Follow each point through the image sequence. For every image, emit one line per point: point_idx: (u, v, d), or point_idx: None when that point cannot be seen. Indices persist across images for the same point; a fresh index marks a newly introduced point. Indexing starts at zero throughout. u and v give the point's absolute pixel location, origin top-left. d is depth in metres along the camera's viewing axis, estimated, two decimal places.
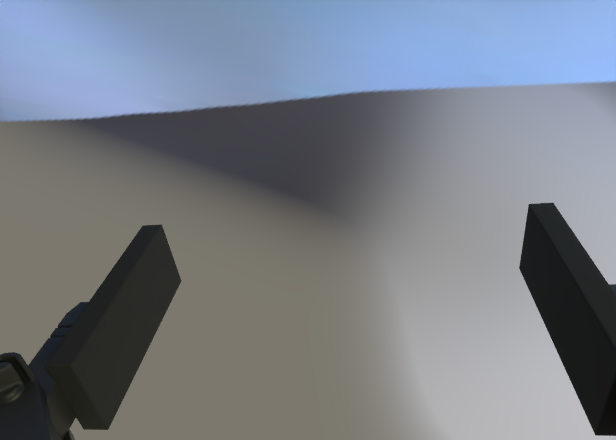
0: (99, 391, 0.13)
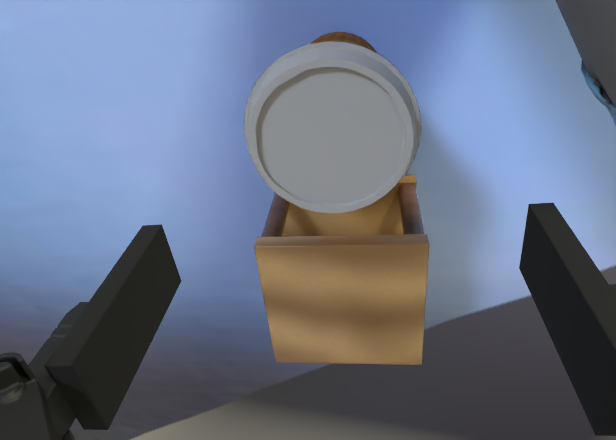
0: (99, 391, 0.13)
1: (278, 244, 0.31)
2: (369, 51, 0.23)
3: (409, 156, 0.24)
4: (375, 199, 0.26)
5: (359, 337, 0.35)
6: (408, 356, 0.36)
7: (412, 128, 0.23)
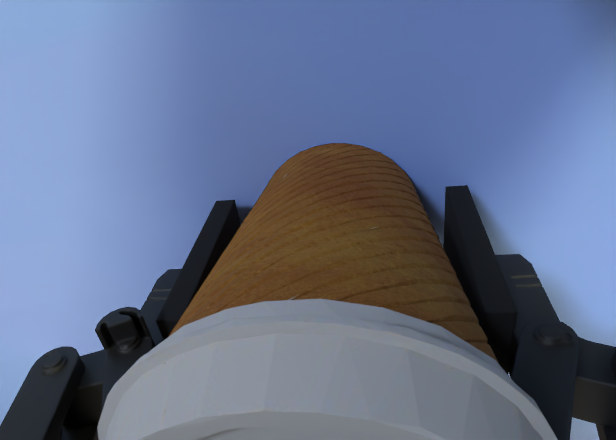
0: None
1: None
2: (427, 345, 0.07)
3: None
4: None
5: None
6: None
7: None
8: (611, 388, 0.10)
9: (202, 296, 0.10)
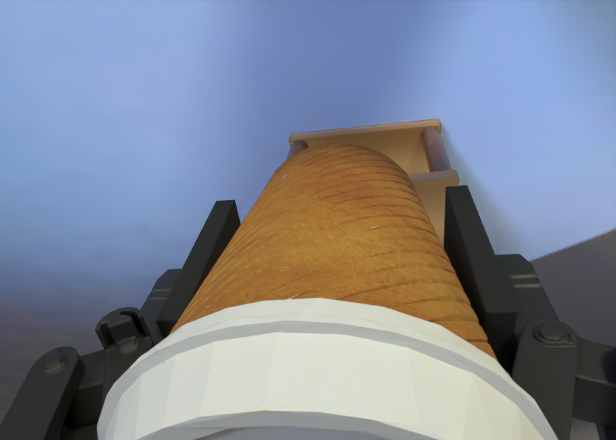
0: None
1: None
2: (427, 344, 0.07)
3: None
4: None
5: None
6: None
7: None
8: (611, 388, 0.10)
9: (202, 295, 0.10)
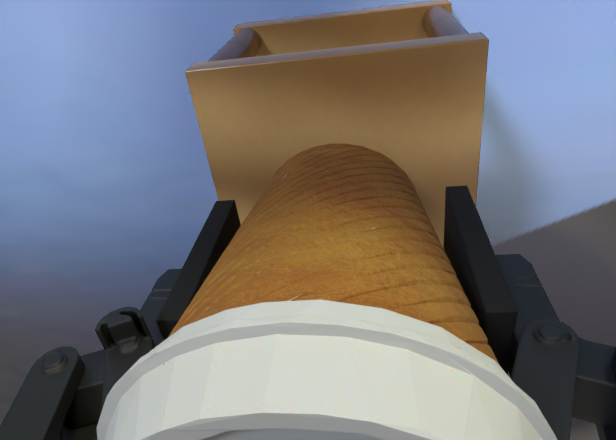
0: None
1: (225, 65, 0.18)
2: (427, 346, 0.07)
3: None
4: None
5: None
6: None
7: None
8: (611, 388, 0.10)
9: (202, 297, 0.10)
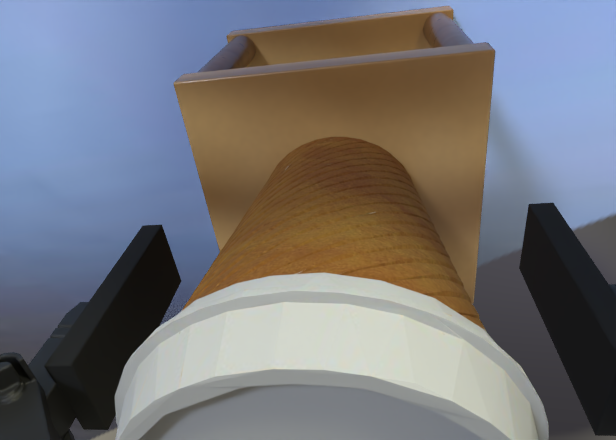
0: (99, 391, 0.13)
1: (216, 77, 0.17)
2: (421, 312, 0.08)
3: None
4: None
5: None
6: None
7: None
8: None
9: (211, 276, 0.11)
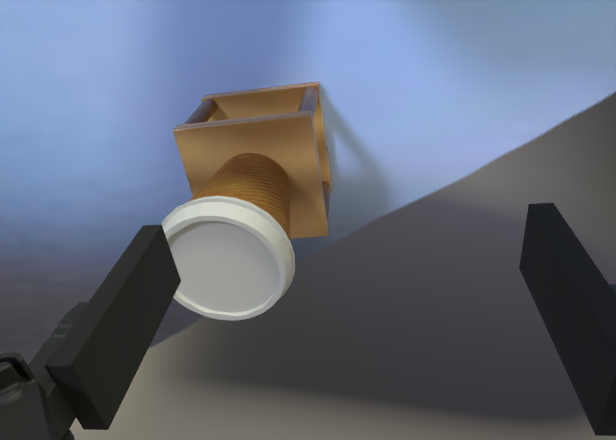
0: (99, 391, 0.13)
1: (192, 127, 0.38)
2: (242, 204, 0.29)
3: (284, 279, 0.30)
4: (264, 309, 0.32)
5: None
6: (315, 228, 0.42)
7: (282, 259, 0.29)
8: None
9: None
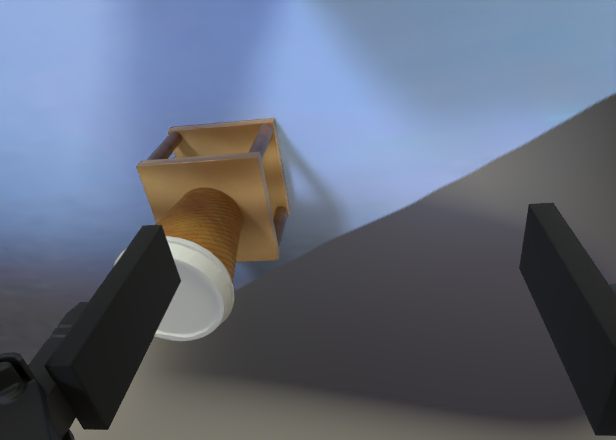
0: (99, 391, 0.13)
1: (153, 163, 0.43)
2: (185, 244, 0.34)
3: (222, 308, 0.35)
4: (208, 333, 0.36)
5: None
6: (266, 253, 0.47)
7: (219, 292, 0.34)
8: None
9: None
